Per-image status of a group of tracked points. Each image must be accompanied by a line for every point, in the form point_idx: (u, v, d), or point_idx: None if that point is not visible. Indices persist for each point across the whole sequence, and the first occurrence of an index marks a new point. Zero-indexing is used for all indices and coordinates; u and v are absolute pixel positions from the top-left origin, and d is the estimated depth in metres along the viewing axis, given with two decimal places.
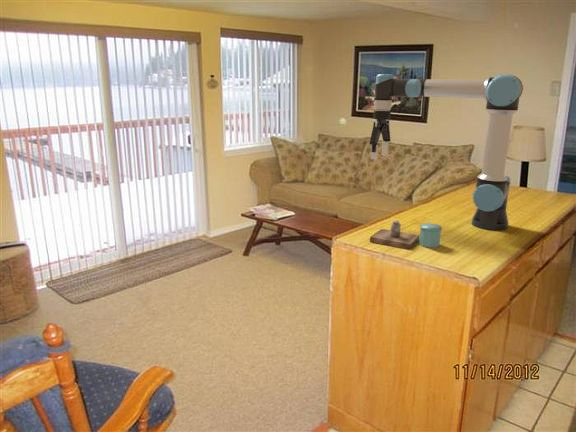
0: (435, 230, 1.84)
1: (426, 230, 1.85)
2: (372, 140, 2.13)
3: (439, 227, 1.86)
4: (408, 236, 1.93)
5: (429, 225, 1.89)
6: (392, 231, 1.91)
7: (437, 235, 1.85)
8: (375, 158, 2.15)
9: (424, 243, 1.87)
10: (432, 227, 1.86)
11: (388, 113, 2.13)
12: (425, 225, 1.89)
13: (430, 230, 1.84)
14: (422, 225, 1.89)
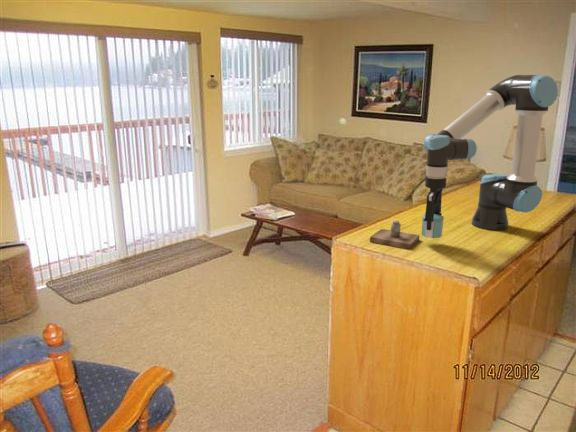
0: (437, 220, 1.83)
1: None
2: None
3: (441, 217, 1.85)
4: (408, 236, 1.93)
5: None
6: (392, 231, 1.91)
7: (439, 225, 1.84)
8: (430, 236, 1.84)
9: None
10: (434, 217, 1.85)
11: (444, 181, 1.80)
12: None
13: None
14: (424, 215, 1.88)
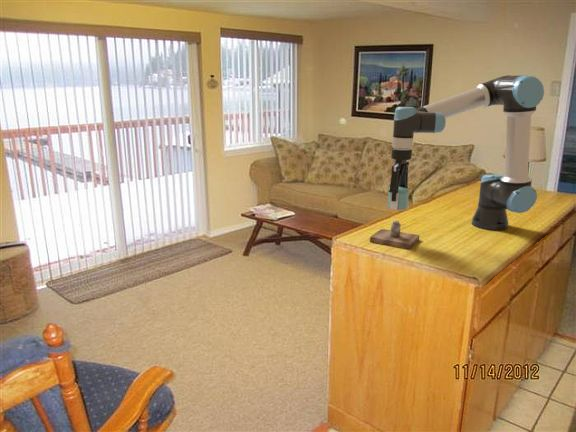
0: (402, 192, 1.84)
1: None
2: None
3: (407, 189, 1.86)
4: (408, 236, 1.93)
5: None
6: (392, 231, 1.91)
7: (404, 197, 1.85)
8: (395, 208, 1.85)
9: None
10: (399, 189, 1.86)
11: (409, 153, 1.81)
12: None
13: None
14: None
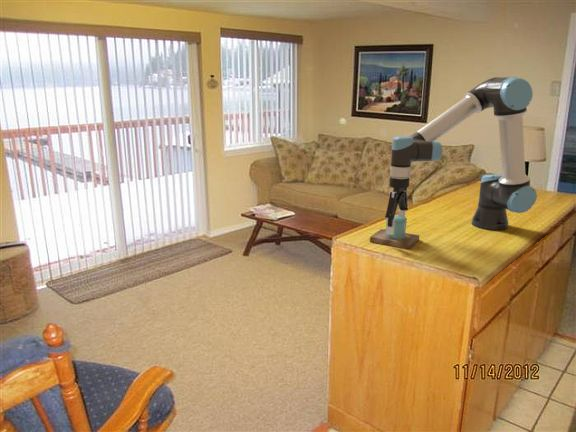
0: (400, 222, 1.87)
1: None
2: None
3: (404, 219, 1.90)
4: (408, 236, 1.93)
5: (395, 217, 1.92)
6: None
7: (402, 226, 1.88)
8: (391, 233, 1.86)
9: None
10: (397, 219, 1.89)
11: (407, 181, 1.84)
12: None
13: (395, 222, 1.87)
14: None
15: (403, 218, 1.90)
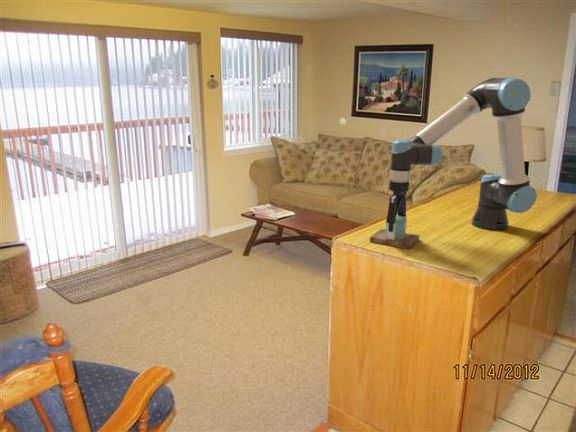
0: (400, 222, 1.87)
1: None
2: (389, 218, 1.86)
3: (404, 219, 1.90)
4: (408, 236, 1.93)
5: None
6: None
7: (402, 226, 1.88)
8: (392, 238, 1.88)
9: None
10: (397, 219, 1.89)
11: (406, 185, 1.84)
12: None
13: (395, 222, 1.87)
14: None
15: (403, 218, 1.90)
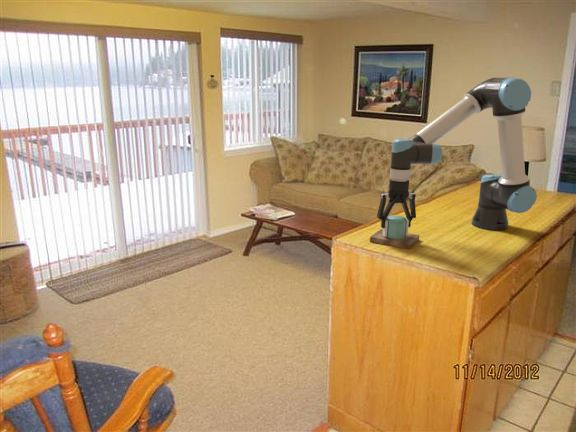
0: (399, 222, 1.87)
1: (391, 222, 1.88)
2: None
3: (404, 219, 1.89)
4: (408, 236, 1.93)
5: (394, 217, 1.92)
6: None
7: (402, 227, 1.88)
8: (384, 235, 1.91)
9: (389, 234, 1.90)
10: (397, 219, 1.89)
11: (399, 184, 1.83)
12: (390, 217, 1.92)
13: (395, 222, 1.87)
14: (388, 217, 1.92)
15: (403, 218, 1.90)
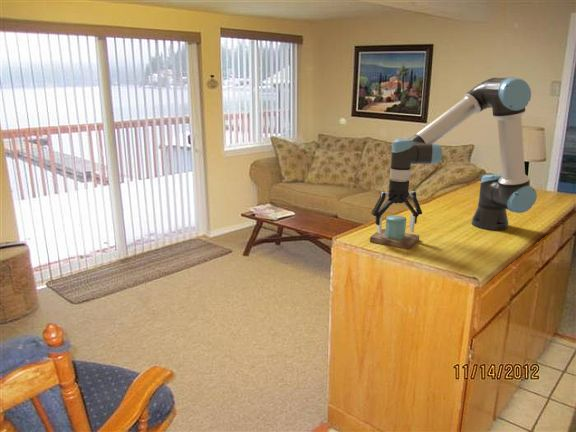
0: (399, 222, 1.87)
1: (391, 222, 1.88)
2: (378, 211, 1.90)
3: (404, 219, 1.89)
4: (408, 236, 1.93)
5: (394, 217, 1.92)
6: None
7: (402, 227, 1.88)
8: (379, 232, 1.90)
9: (389, 234, 1.90)
10: (397, 219, 1.89)
11: (399, 184, 1.83)
12: (391, 217, 1.92)
13: (394, 222, 1.87)
14: (388, 217, 1.92)
15: (403, 218, 1.90)
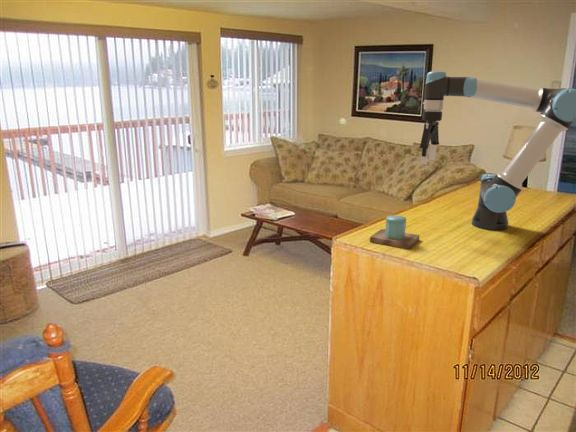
0: (399, 222, 1.87)
1: (391, 222, 1.88)
2: None
3: (404, 219, 1.89)
4: (408, 236, 1.93)
5: (394, 217, 1.92)
6: None
7: (402, 227, 1.88)
8: (425, 163, 1.98)
9: (389, 234, 1.90)
10: (397, 219, 1.89)
11: (440, 114, 1.96)
12: (391, 217, 1.92)
13: (394, 222, 1.87)
14: (388, 217, 1.92)
15: (403, 218, 1.90)
